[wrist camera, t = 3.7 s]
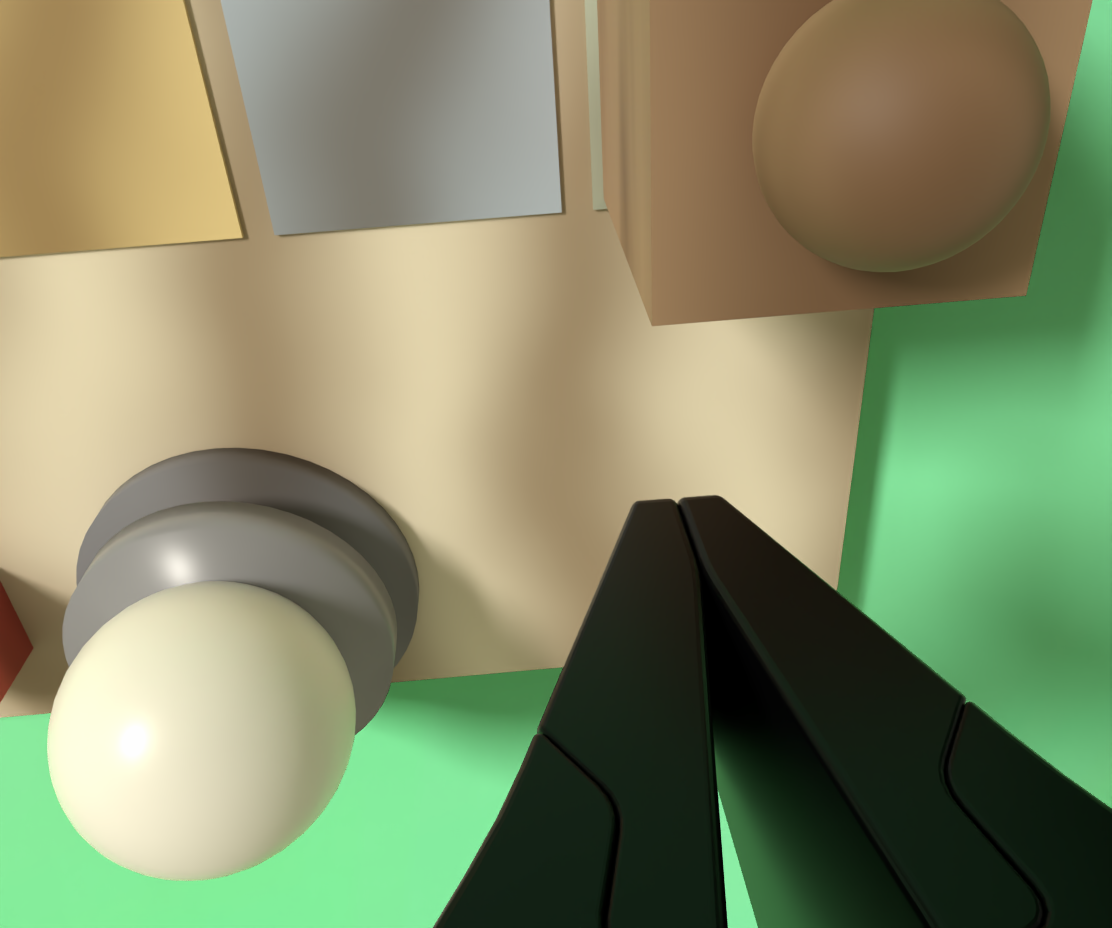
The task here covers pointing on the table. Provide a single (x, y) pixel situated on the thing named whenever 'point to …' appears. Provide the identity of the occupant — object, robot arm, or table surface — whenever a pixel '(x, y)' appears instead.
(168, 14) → the game board
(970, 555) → the table surface
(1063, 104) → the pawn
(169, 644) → the dome
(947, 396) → the table surface
